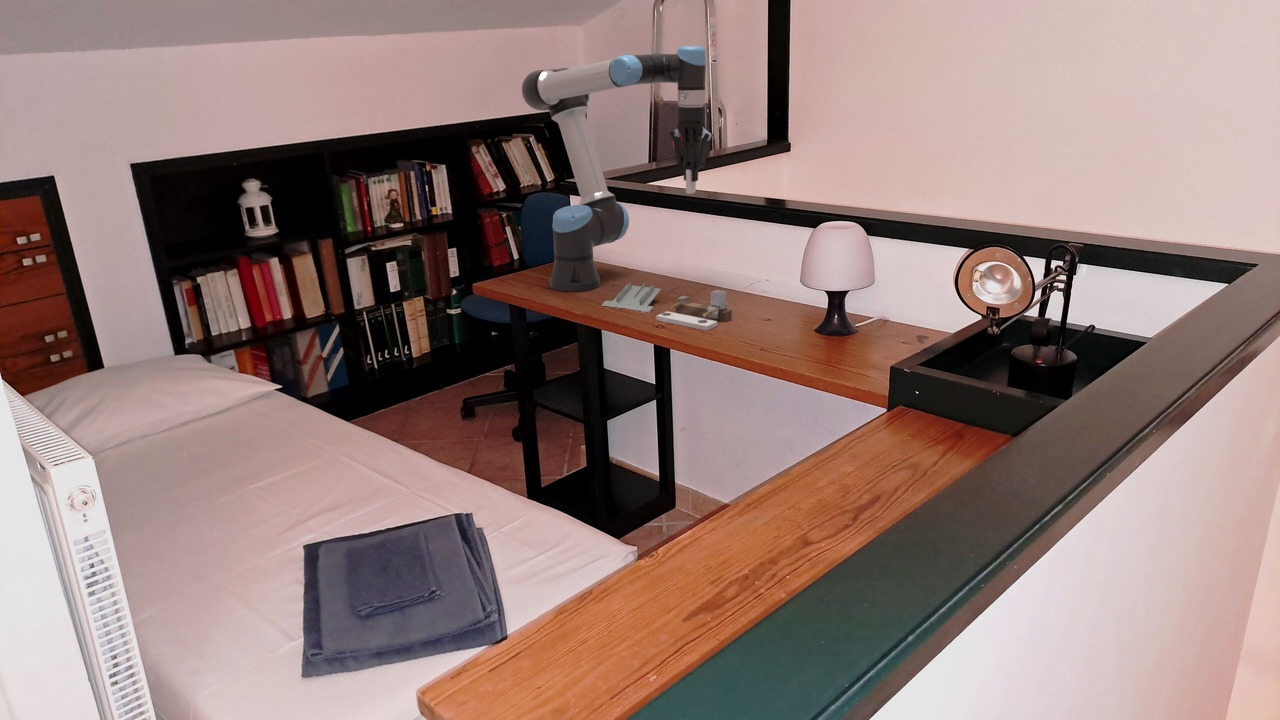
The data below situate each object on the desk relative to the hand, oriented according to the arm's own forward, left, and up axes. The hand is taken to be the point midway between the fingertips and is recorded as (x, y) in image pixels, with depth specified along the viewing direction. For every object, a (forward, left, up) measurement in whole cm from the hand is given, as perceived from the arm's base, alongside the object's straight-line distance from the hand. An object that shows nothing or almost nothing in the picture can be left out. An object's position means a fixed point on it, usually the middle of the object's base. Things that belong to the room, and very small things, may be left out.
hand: (690, 192), depth 256 cm
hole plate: (+15, -24, -29) cm, 41 cm away
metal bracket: (-7, -17, -30) cm, 35 cm away
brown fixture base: (+15, -18, -29) cm, 38 cm away
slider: (+20, -18, -29) cm, 39 cm away
